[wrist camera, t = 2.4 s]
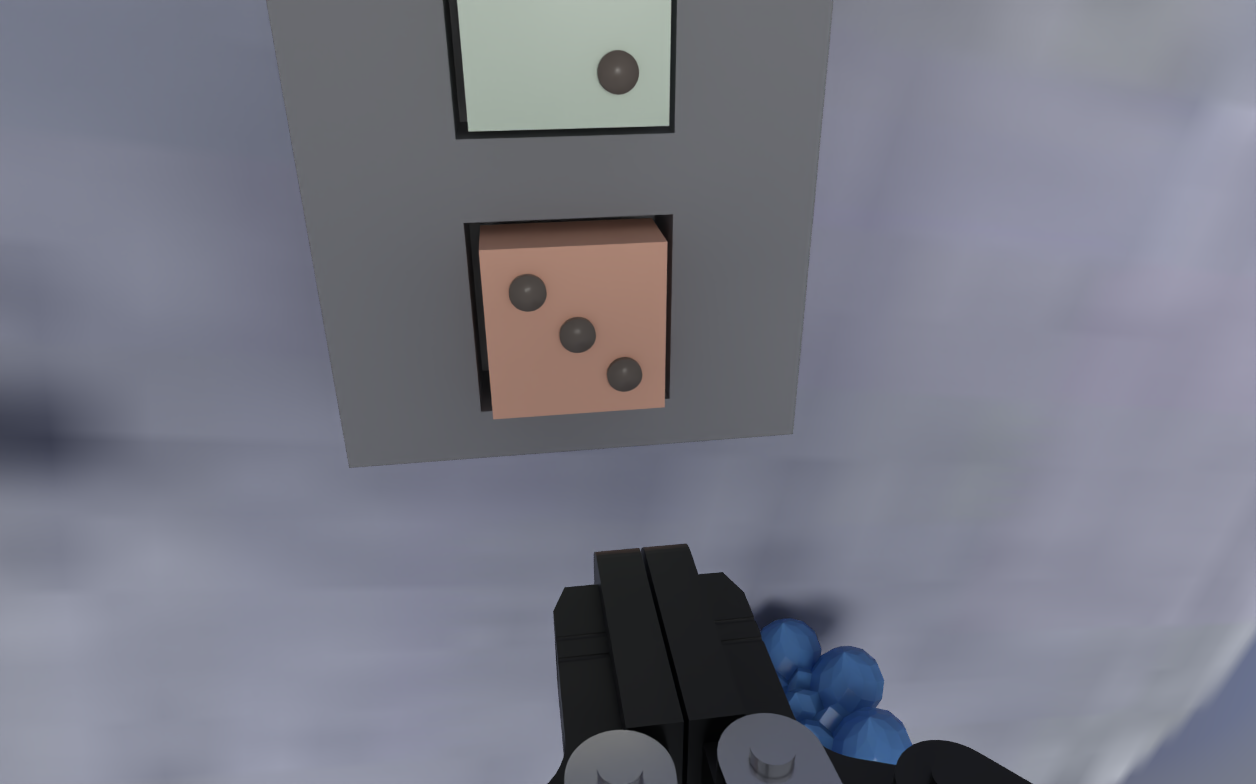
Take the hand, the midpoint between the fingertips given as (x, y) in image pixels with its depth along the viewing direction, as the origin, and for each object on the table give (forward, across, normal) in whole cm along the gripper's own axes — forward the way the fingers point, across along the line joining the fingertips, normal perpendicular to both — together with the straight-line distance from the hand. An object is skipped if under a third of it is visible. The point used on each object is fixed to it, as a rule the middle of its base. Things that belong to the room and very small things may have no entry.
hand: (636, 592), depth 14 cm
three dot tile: (+14, 0, 0) cm, 14 cm away
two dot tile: (+13, 0, -8) cm, 16 cm away
